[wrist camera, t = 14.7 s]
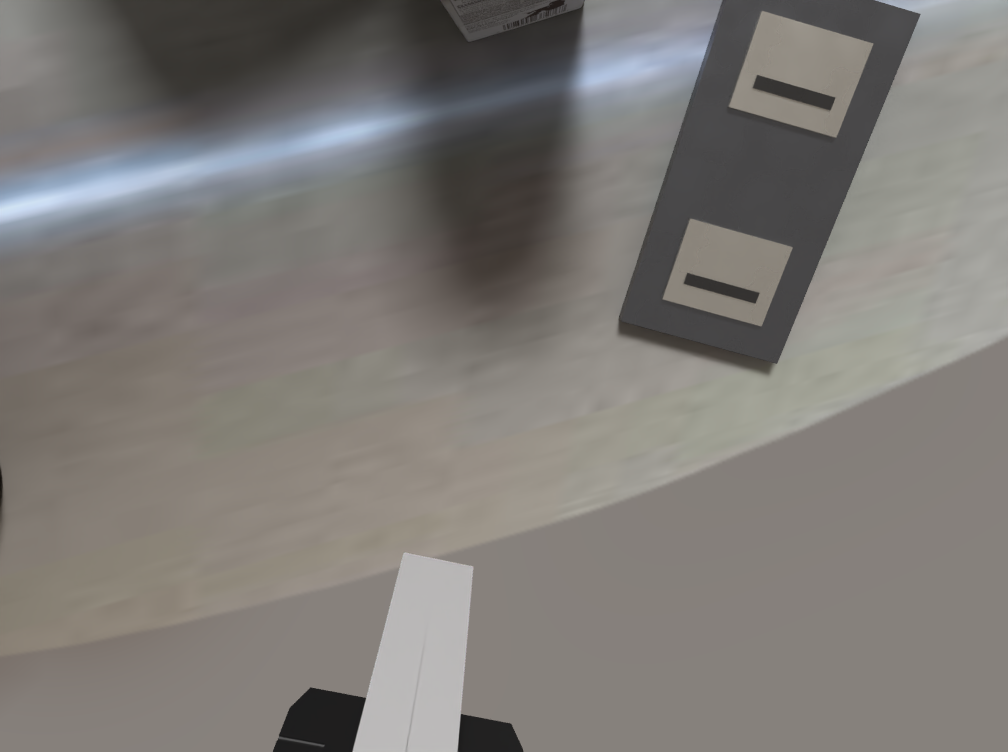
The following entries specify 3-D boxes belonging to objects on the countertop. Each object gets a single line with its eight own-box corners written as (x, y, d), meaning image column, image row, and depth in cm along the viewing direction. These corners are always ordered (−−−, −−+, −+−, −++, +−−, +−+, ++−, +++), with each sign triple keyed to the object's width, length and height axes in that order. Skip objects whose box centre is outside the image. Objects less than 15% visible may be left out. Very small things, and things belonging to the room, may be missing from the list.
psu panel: (618, 316, 40) (621, 322, 38) (734, -35, 34) (742, -42, 33) (771, 358, 40) (779, 365, 39) (909, 17, 35) (924, 12, 33)
